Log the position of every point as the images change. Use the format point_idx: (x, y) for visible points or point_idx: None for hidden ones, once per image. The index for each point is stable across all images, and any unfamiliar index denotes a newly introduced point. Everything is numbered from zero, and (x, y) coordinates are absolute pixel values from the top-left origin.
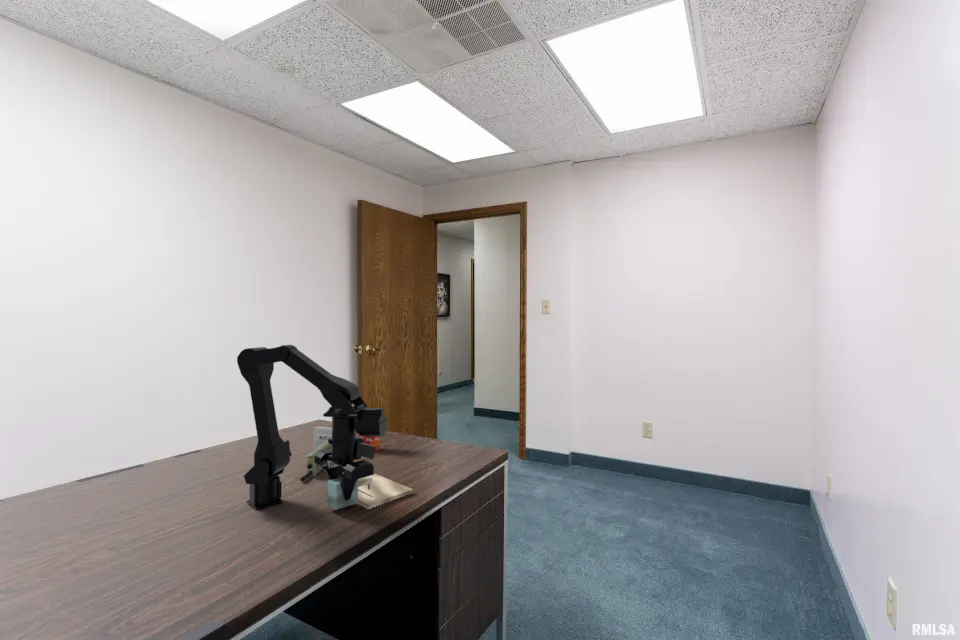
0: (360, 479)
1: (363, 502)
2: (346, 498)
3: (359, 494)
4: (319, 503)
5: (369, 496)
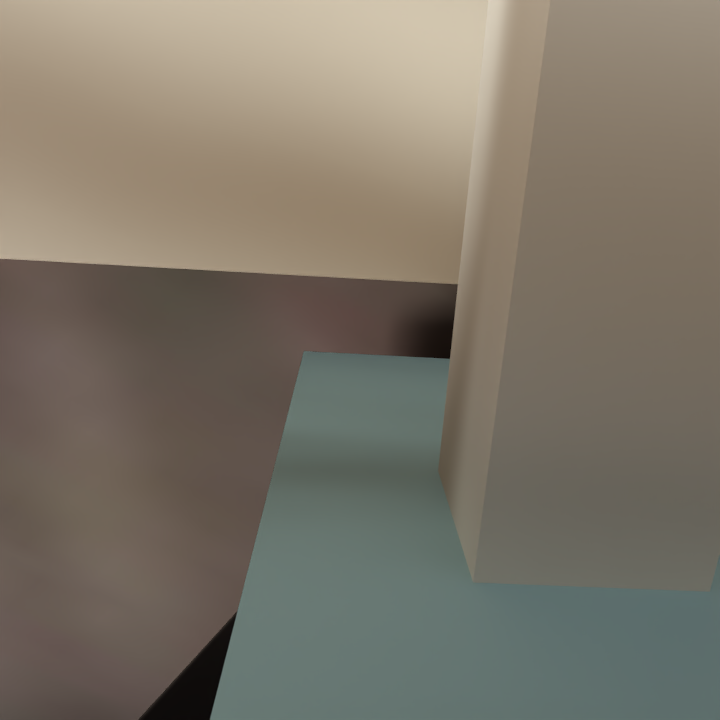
0: (625, 226)
1: None
2: None
3: (299, 98)
4: (10, 618)
5: None
